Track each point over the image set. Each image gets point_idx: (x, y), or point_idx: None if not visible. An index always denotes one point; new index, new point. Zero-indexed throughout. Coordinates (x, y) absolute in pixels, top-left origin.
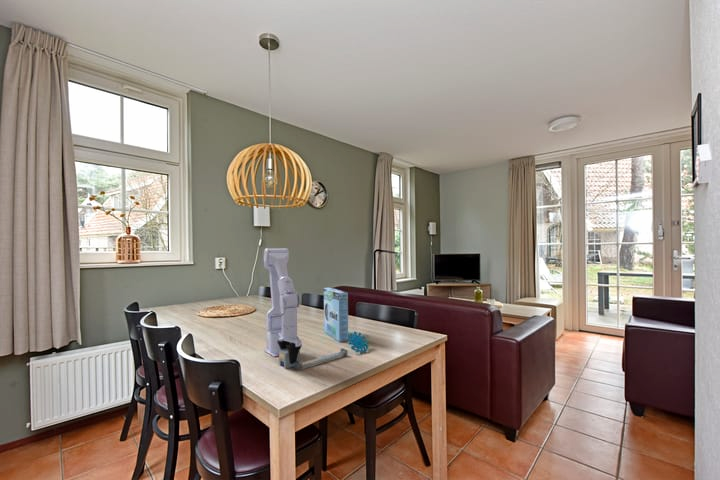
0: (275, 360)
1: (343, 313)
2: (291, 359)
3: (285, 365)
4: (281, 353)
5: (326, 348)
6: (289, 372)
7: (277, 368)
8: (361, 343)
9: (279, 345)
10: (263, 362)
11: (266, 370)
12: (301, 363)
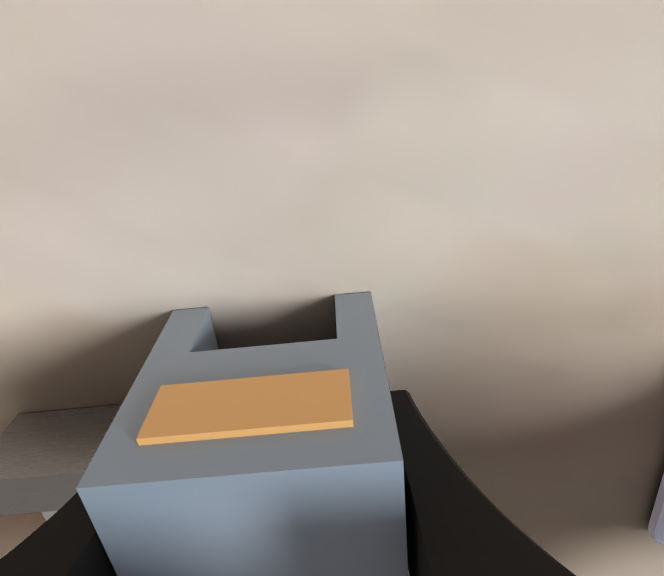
0: (565, 305)
1: None
2: None
3: (161, 337)
4: (279, 436)
5: None
6: (11, 308)
7: (242, 224)
8: None
9: (517, 570)
10: (642, 120)
11: (253, 35)
12: None
